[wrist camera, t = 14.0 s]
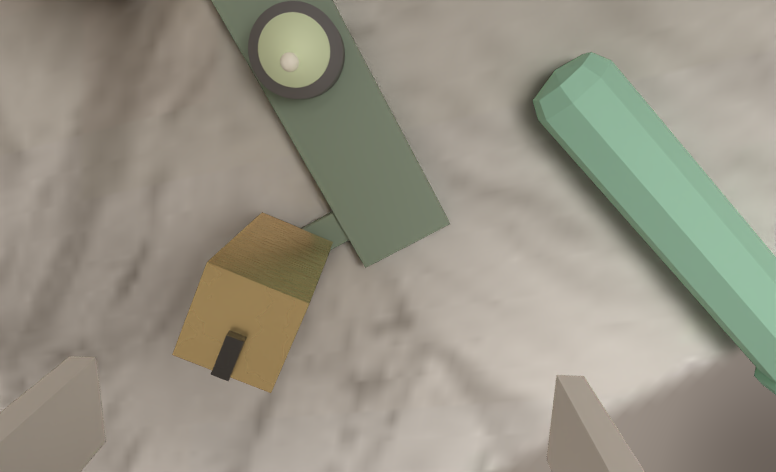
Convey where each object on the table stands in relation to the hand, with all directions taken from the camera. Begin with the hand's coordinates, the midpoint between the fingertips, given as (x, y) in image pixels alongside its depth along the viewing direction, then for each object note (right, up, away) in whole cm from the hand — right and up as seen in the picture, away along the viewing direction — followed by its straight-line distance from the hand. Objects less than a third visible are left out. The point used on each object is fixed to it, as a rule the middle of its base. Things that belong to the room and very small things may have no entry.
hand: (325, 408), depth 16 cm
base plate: (-6, +14, +18) cm, 23 cm away
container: (+20, +6, +20) cm, 29 cm away
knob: (-5, +4, +19) cm, 20 cm away
